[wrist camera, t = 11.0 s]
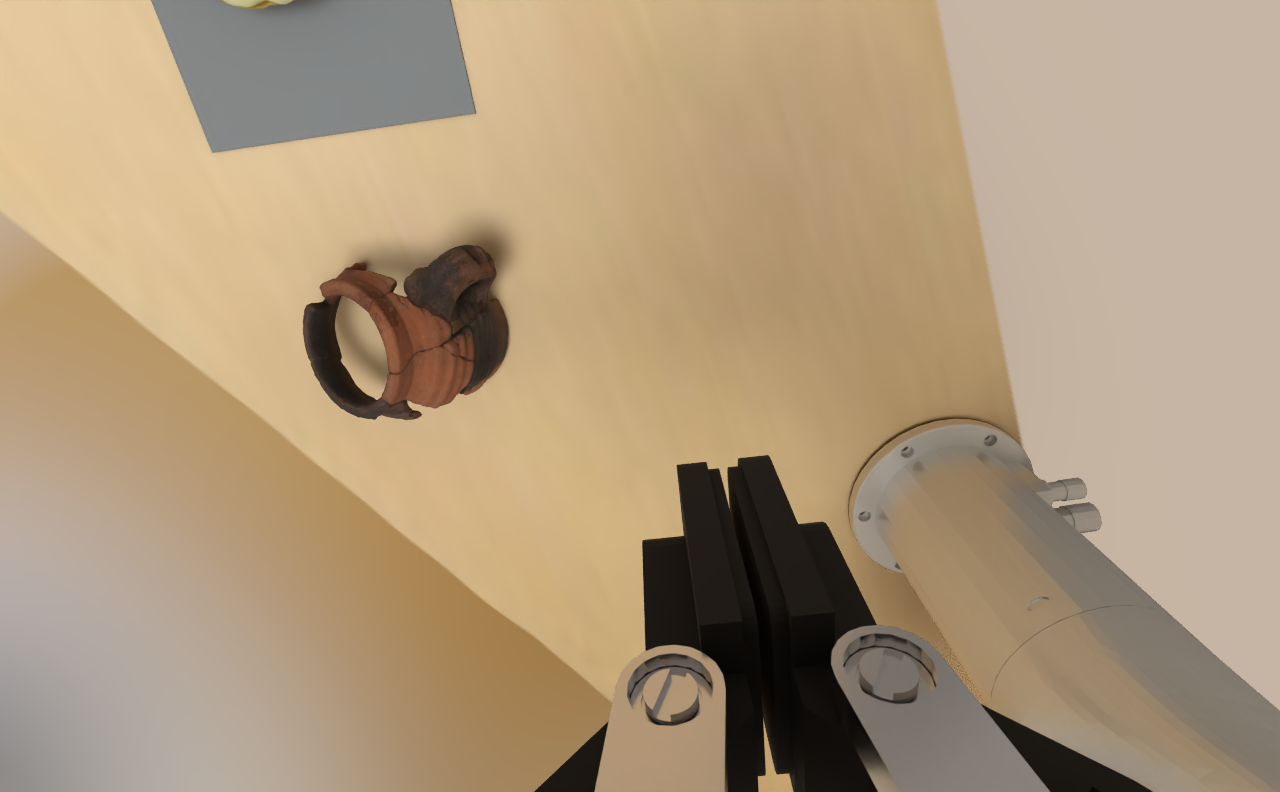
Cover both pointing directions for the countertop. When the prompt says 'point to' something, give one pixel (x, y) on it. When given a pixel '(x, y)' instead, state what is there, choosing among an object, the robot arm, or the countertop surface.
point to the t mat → (315, 66)
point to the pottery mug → (414, 333)
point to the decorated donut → (256, 3)
